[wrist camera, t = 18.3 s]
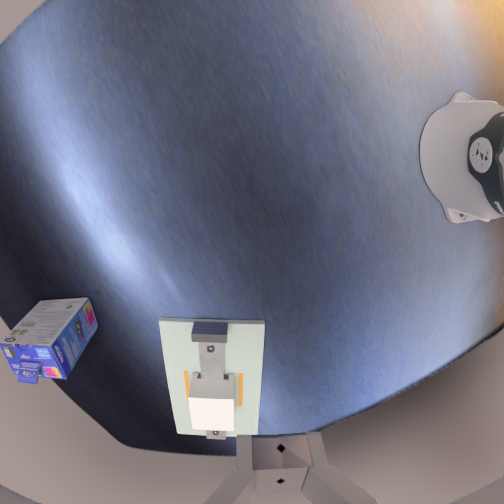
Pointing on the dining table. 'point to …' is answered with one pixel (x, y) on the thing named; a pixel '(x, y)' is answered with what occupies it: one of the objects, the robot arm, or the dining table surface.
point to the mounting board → (235, 362)
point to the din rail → (211, 355)
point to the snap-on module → (212, 403)
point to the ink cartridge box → (50, 339)
